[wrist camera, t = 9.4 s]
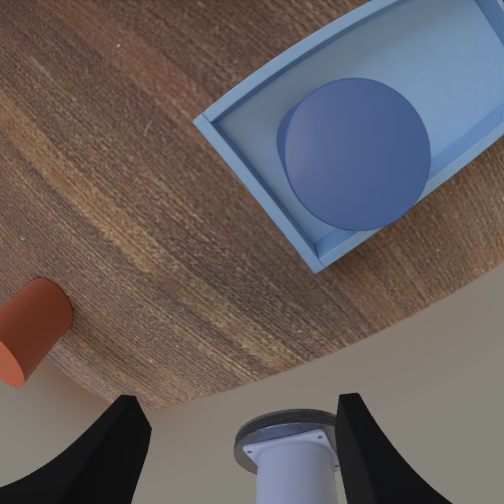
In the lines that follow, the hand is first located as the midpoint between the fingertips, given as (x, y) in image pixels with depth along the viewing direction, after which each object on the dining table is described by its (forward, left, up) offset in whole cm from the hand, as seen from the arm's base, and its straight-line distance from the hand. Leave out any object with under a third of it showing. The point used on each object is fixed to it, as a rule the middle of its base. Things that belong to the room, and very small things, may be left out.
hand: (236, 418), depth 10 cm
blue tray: (+8, -12, -9) cm, 17 cm away
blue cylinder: (+6, -7, -9) cm, 13 cm away
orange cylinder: (+4, +15, -9) cm, 18 cm away
